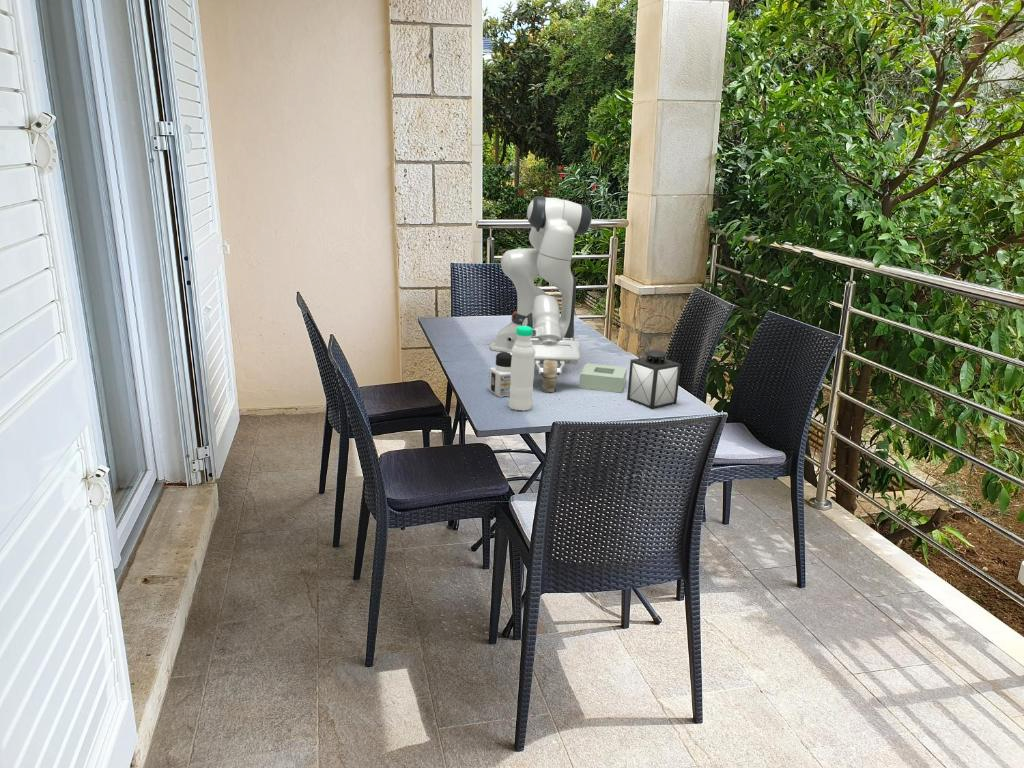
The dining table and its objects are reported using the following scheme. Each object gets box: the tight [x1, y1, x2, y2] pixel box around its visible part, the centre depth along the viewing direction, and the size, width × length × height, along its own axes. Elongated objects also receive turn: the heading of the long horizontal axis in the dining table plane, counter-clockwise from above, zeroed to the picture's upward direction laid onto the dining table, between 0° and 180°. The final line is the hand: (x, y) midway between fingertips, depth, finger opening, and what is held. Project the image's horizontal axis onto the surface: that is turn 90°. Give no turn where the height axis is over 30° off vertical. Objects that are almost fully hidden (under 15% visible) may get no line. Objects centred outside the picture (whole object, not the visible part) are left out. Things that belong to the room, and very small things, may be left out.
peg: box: [541, 360, 558, 393], centre depth 258 cm, size 4×4×10 cm
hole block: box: [579, 362, 628, 394], centre depth 269 cm, size 14×14×5 cm
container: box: [488, 351, 512, 398], centre depth 254 cm, size 8×8×13 cm
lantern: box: [626, 314, 682, 410], centre depth 250 cm, size 11×11×28 cm
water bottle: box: [508, 326, 535, 411], centre depth 238 cm, size 7×7×25 cm
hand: (550, 374), depth 257 cm, fingers closed on peg, 4 cm apart
